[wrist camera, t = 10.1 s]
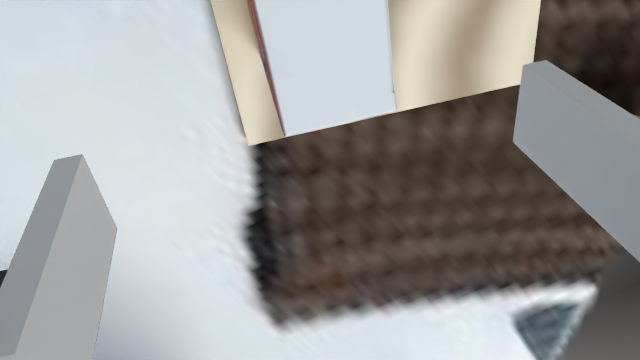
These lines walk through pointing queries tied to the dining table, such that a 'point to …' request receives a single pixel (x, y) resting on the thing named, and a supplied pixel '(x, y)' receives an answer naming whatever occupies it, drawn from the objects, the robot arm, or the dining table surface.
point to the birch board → (401, 54)
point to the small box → (325, 60)
